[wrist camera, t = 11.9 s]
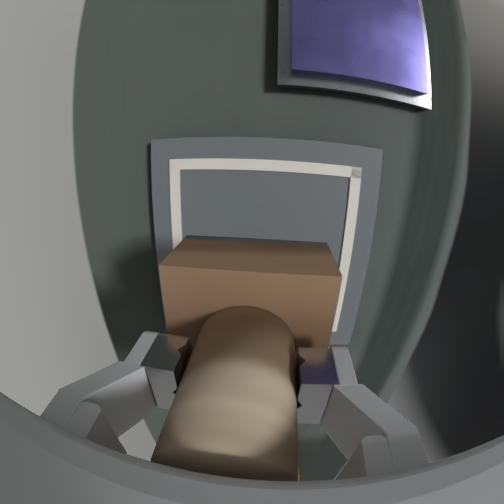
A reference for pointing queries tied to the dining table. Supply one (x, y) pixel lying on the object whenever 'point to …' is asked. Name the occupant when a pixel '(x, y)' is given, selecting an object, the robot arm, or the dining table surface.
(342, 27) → the ink pad
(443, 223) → the dining table surface
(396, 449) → the robot arm
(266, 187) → the board
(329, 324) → the stamp
